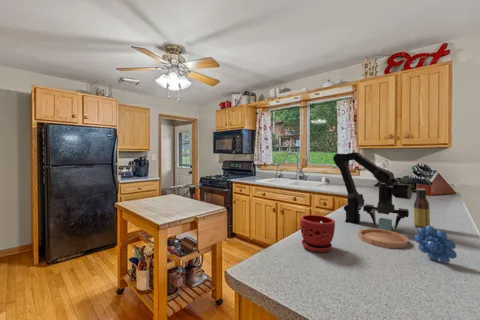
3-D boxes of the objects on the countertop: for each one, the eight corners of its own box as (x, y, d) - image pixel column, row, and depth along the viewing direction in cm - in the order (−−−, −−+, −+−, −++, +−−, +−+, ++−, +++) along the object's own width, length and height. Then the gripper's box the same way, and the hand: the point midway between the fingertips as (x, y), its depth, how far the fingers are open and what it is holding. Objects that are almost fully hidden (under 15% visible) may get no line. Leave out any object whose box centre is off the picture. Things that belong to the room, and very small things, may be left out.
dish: (354, 240, 98) (354, 236, 98) (363, 230, 112) (363, 226, 112) (405, 252, 87) (405, 246, 87) (408, 238, 100) (408, 234, 100)
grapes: (410, 257, 82) (410, 225, 82) (416, 252, 86) (416, 221, 86) (453, 271, 73) (454, 234, 72) (458, 264, 77) (458, 229, 76)
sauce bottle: (424, 226, 118) (424, 188, 117) (433, 230, 111) (433, 190, 111) (410, 225, 118) (411, 188, 118) (418, 229, 112) (419, 190, 112)
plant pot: (329, 257, 82) (329, 225, 82) (295, 248, 90) (295, 219, 90) (338, 246, 93) (338, 217, 93) (307, 239, 101) (307, 212, 101)
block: (378, 229, 113) (378, 219, 113) (380, 227, 117) (380, 217, 116) (390, 232, 110) (390, 221, 109) (391, 229, 113) (391, 219, 113)
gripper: (360, 196, 112) (360, 227, 113) (407, 201, 101) (407, 236, 101) (365, 193, 121) (365, 222, 121) (409, 197, 109) (408, 229, 109)
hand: (385, 227), depth 113 cm, fingers open, 8 cm apart
